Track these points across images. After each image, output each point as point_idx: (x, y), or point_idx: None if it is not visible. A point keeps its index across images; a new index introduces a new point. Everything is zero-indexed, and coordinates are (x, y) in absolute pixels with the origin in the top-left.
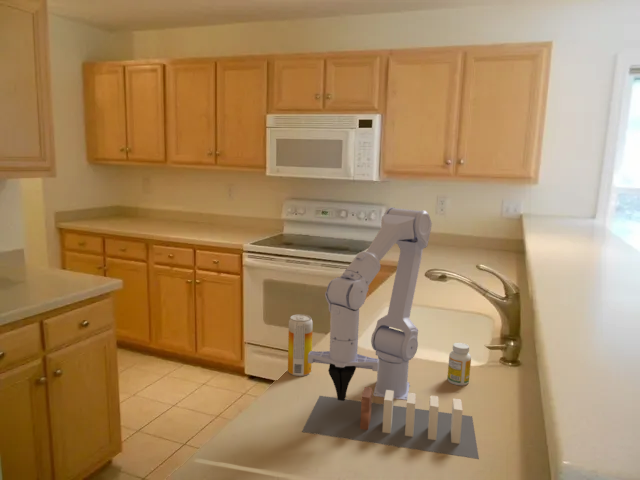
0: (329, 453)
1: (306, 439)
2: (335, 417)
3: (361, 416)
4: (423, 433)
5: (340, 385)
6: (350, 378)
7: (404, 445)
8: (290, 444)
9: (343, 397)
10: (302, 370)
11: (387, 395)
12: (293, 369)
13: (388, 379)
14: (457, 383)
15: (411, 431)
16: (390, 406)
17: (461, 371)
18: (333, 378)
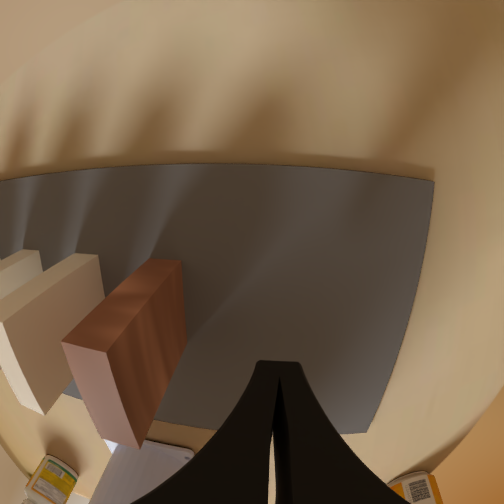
0: (288, 55)
1: (405, 141)
2: (303, 326)
3: (156, 284)
4: None
5: (285, 446)
6: (149, 498)
7: (29, 187)
8: (450, 101)
9: (258, 371)
10: (407, 490)
11: (14, 366)
12: (428, 484)
13: (135, 488)
14: (53, 459)
15: (14, 255)
16: (3, 300)
17: (39, 474)
18: (368, 488)
